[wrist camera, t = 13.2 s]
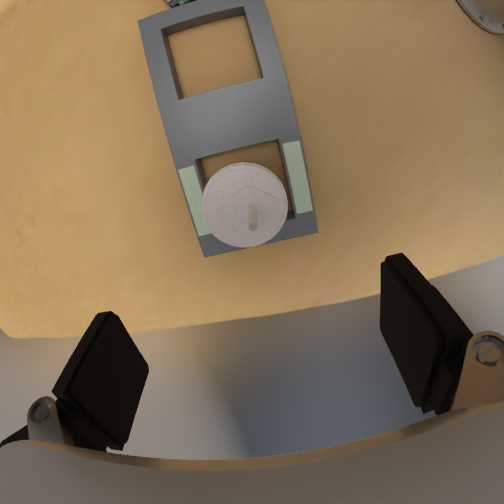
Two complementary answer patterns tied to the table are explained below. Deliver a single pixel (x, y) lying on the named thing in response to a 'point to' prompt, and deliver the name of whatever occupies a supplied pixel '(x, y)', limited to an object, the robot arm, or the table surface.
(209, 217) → the smoothie
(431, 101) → the table surface
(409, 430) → the robot arm
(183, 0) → the disk drive
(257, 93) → the dock
